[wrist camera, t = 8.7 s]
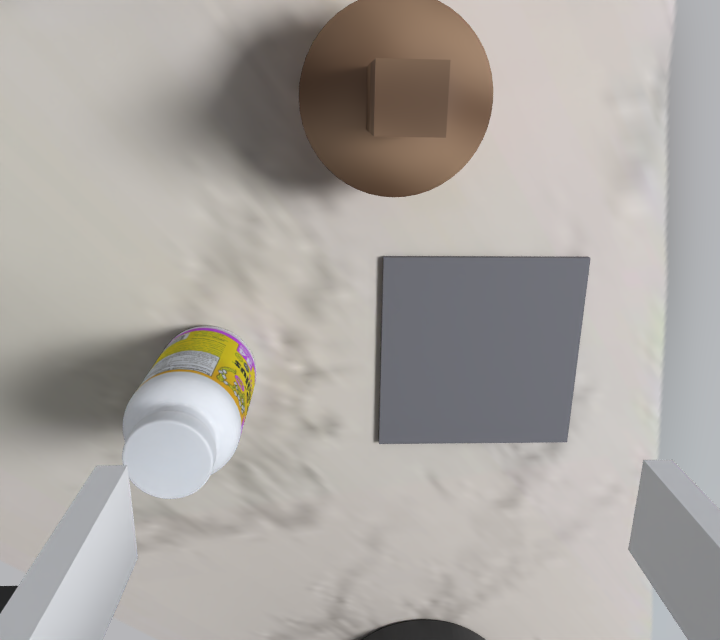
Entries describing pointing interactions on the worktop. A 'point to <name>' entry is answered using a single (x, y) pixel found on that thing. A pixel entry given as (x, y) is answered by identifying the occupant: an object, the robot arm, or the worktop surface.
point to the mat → (479, 348)
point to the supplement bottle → (188, 412)
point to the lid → (396, 95)
